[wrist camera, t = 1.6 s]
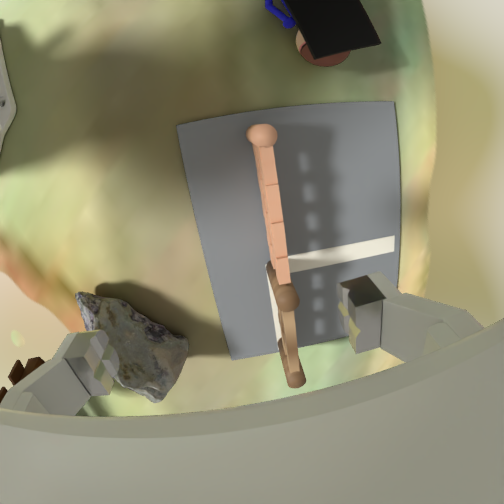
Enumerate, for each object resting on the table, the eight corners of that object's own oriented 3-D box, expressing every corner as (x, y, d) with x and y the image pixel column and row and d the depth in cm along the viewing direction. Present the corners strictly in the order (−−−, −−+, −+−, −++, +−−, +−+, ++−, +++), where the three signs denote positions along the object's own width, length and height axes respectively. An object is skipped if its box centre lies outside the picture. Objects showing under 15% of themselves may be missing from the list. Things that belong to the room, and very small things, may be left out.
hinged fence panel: (282, 254, 31) (296, 284, 26) (265, 257, 31) (275, 288, 26) (263, 123, 26) (275, 122, 20) (244, 126, 26) (250, 125, 20)
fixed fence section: (264, 260, 32) (275, 295, 26) (283, 256, 32) (298, 290, 26) (278, 349, 37) (288, 389, 31) (293, 345, 37) (306, 385, 31)
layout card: (176, 125, 26) (175, 125, 26) (391, 101, 27) (394, 101, 26) (231, 358, 37) (231, 360, 37) (391, 321, 38) (393, 323, 38)
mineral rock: (78, 282, 31) (41, 334, 22) (159, 261, 31) (137, 315, 22) (123, 363, 37) (106, 421, 27) (196, 351, 37) (193, 414, 27)
